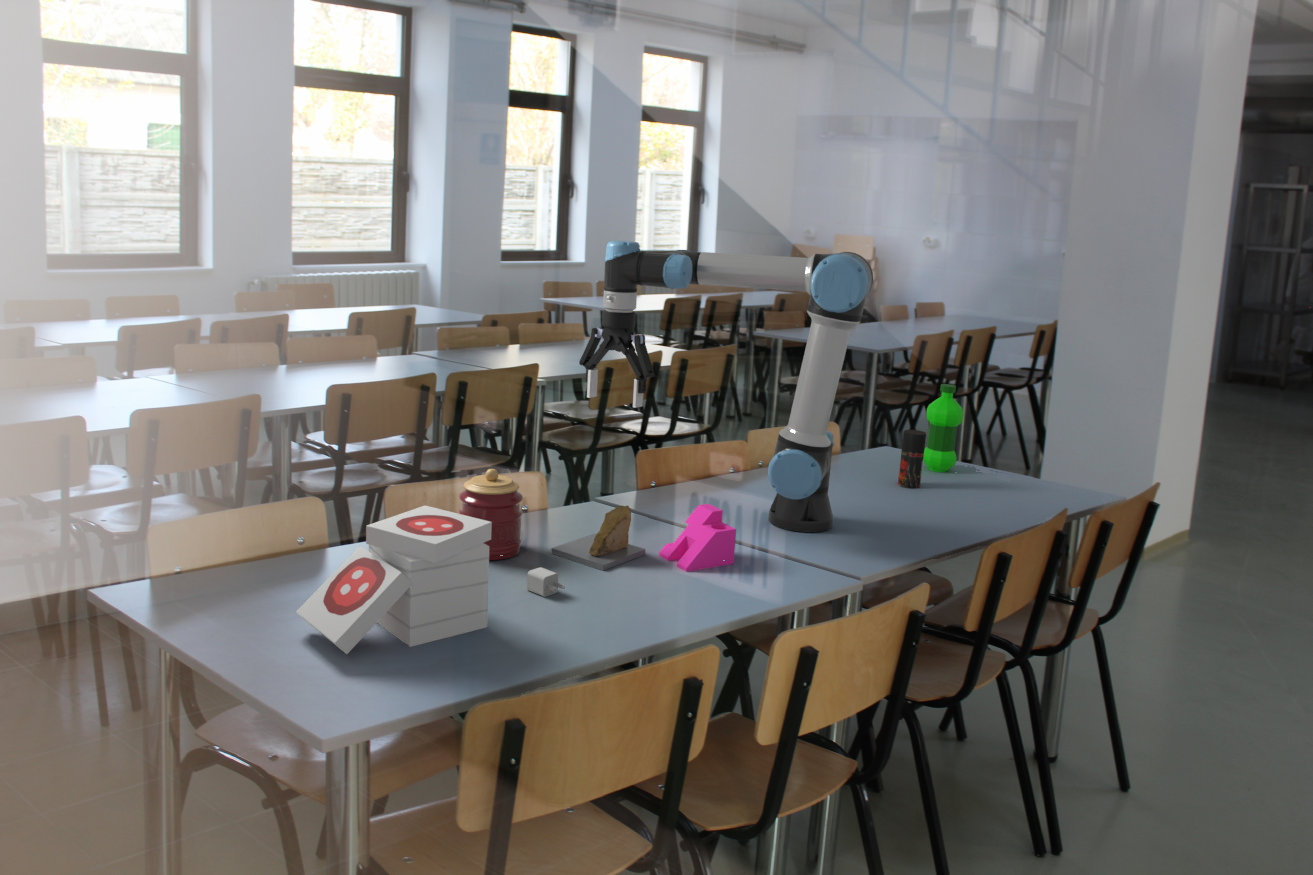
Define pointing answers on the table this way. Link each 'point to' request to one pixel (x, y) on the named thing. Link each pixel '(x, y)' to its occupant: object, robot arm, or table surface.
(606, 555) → the slate board
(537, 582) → the usb wall charger
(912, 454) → the deodorant
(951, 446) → the plastic bottle
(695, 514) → the bracket
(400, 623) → the pizza boxes
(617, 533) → the rock
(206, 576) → the table surface
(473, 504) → the canister
